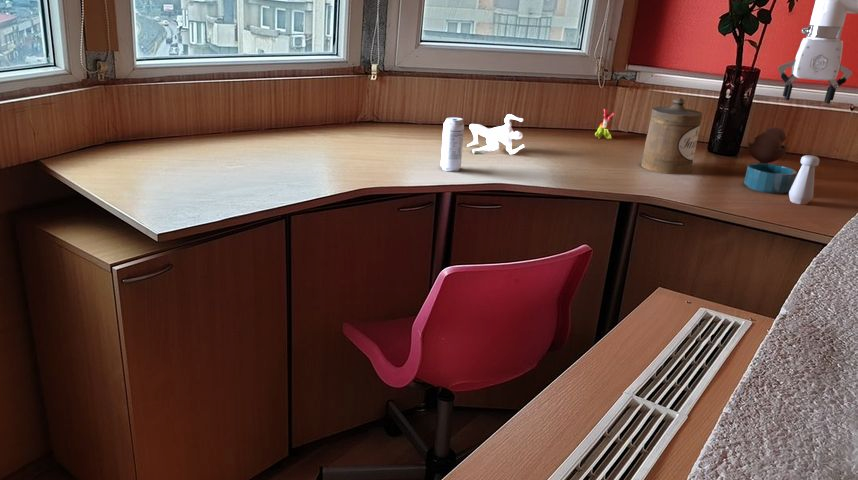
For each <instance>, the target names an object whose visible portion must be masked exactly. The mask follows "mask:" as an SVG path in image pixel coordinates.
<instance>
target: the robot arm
mask: <svg viewBox="0 0 858 480" xmlns="http://www.w3.org/2000/svg"><path fill="white" fill-rule="evenodd" d="M814 1H815V2H814V6H813V9H812V14H811V16H810V17H811V18H810V22H809V24H808V26H807V27H802V29H801V32H800V33H801V34H805V36H806V37H803V38H802V40H801V42H800V45H799V47H798V49H797V52H796V55H795V58H794V60H790V61H789V62H785V63H783V64H780V65H778V66H777V70H778V74H779V77H780V79H782V81H783V83H785V84H784V88H783V92H782V97H784V100H785V101H790V100H791V99H790V98H791V94H792V90H793V87H794V85H793V83H794V82H796V80H797V79H800V80H801V79H802V80H812V81H813V80H814V81H827V82H828V84H829V86H828V87H827V90H826V93H825V97H824V100H823V101H824V103H825V104H827V105H829V104H831V101H833V100H834V98H835V94H836V90H837V89H838V88H839V87H841V85H843V84H845V83H846V82H847V80H848V79H850V77H851V76H853V70H851V69H849V68H847V67H845V66H844V65H842V64H841V62H842V56H843V49H844V48H843V47H844V40H841V35H842V33H843V28H844V24H845V21H846V17H847V14H853V15H858V0H814ZM790 68H791V74H790V75H789V76H788V75H787V74H786V70H787V69H790ZM839 71H840V72H841V73H843V75H842V76H841V77H839V79H837V77H838V74H839Z"/></svg>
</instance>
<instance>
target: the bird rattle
mask: <svg viewBox="0 0 858 480" xmlns="http://www.w3.org/2000/svg"><path fill="white" fill-rule="evenodd" d="M609 111H610V110H609V109H606V108H603V117H604V118H603V121H602V122H601V123H600V124H599V126H598V128H597V131H596V132H595V133H594V136H595V137H597V139H598V140H600V139H601V138H602V137H604V138H605V139H606V140H611V139H613V136H612V134H611V132H610V131H609V129H610V124H609V122H610V121H611V118H612V117H614V116H615V115H616V113H614V112H612V113H609Z"/></svg>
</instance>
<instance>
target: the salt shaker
mask: <svg viewBox="0 0 858 480" xmlns="http://www.w3.org/2000/svg"><path fill="white" fill-rule="evenodd" d="M800 164H801V166H800V169H799V170H798V173H796V177H795V181H794V183H793V185H792V187H791V189H790V191H789V192H788V196H789V201H790V202H791V203H792V204H796V205H808V204H809V202H811V200H812V199H813V198H814V190H815V189H814V187H815V186H814V185H815V173H816V172H815V170H816V167H817V166H819V164H820V158H819V157H818V156H816V155H811V154H805V155H803V156H802V157H801V158H800Z"/></svg>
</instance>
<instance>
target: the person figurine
mask: <svg viewBox="0 0 858 480" xmlns="http://www.w3.org/2000/svg"><path fill="white" fill-rule="evenodd" d="M511 120H515V121H518V122H520V123H523V122H524V118H523V117H518V116H516V115H513V114H511V113H508V114H506V116H505V118H504V119H503V122H504V123H505V124H504V125H501V126H494V127H492V128H488V127H486V126H485V125H482V124H479V123H471V124H469V127H468V128H469V130H470V131H471V133H472V136H473V141H472V142H470V143H468V144H467V145H466V147H472V146H477V145H479V144H480V143H479V136H481V137H484V138H485V142H486V144H487V145H484V146H481V147H479V148H473V149H472V154H473V155H474V154H475V153H479V152H486V153H489V152H495V151H498V150H500V143H502V144H503V145H504V146H505V150H506V152H507V153H508V154H509V155H513V156H514V155H515V154H517V153H518V152H519V151H521V150H522V149H525V148H526V145H525V144H521V145H519V147H517V148H514V149H513V141H512V140H516V141H517V140H522V138H523V137H524V135H523V133H522V132H521V131H519V130H515V131H514V129H513V127H512V124H513V123H512V122H511Z"/></svg>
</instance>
